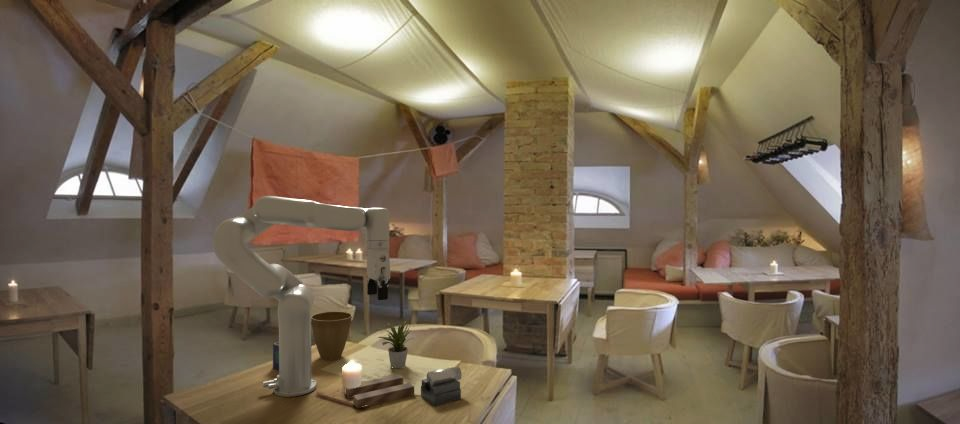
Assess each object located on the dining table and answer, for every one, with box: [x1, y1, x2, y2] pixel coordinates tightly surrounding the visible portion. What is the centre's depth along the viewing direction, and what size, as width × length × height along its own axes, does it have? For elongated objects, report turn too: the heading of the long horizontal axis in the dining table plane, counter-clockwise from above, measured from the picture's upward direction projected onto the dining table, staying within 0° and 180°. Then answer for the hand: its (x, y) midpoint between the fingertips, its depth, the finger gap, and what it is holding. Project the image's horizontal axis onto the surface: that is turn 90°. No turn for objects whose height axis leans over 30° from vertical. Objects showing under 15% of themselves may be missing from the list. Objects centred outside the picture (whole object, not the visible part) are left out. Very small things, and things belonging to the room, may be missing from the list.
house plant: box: [377, 320, 416, 369], centre depth 168 cm, size 14×14×16 cm
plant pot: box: [311, 311, 353, 361], centre depth 176 cm, size 15×15×16 cm
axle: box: [426, 365, 463, 386], centre depth 141 cm, size 10×4×4 cm
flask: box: [272, 341, 279, 372], centre depth 163 cm, size 9×3×11 cm, turn 68°
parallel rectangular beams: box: [345, 373, 415, 410], centre depth 143 cm, size 18×12×3 cm, turn 123°
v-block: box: [420, 378, 462, 407], centre depth 141 cm, size 9×9×5 cm
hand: (377, 296), depth 152 cm, fingers open, 9 cm apart
